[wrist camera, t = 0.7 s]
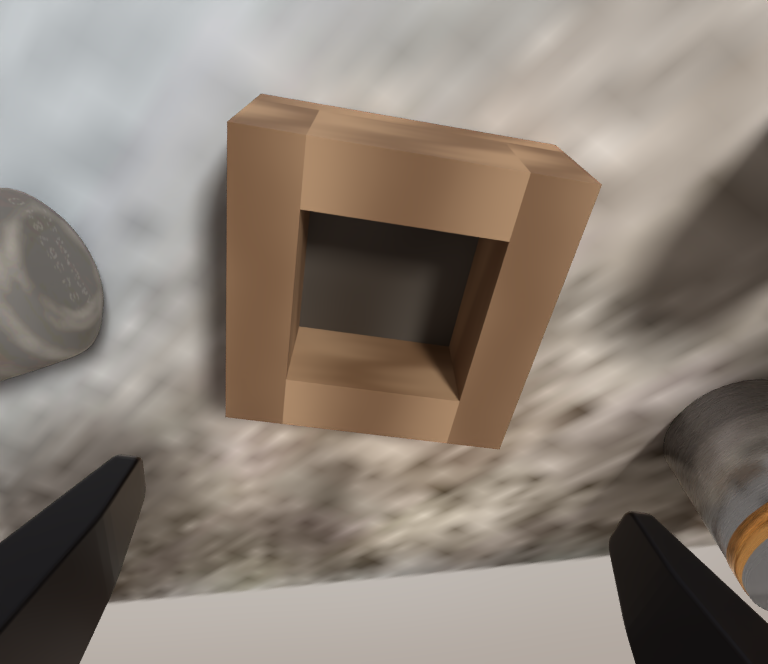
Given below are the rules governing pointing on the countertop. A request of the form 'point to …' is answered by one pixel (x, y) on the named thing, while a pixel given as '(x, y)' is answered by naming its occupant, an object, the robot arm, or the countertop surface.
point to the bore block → (390, 269)
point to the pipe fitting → (43, 287)
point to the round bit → (728, 474)
